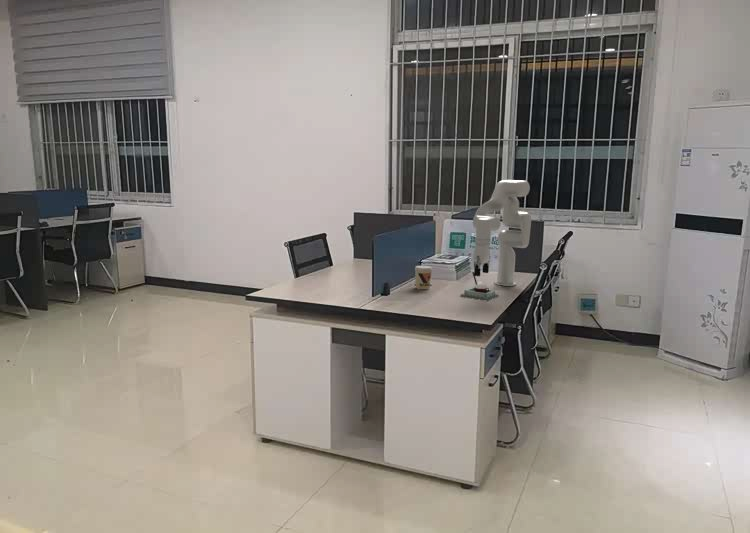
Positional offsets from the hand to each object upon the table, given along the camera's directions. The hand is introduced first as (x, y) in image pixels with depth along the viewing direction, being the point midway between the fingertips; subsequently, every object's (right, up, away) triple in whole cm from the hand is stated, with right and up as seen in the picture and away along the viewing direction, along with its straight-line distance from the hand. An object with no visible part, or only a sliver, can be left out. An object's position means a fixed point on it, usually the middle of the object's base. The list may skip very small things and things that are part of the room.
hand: (481, 274), depth 302 cm
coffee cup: (-29, -8, +18) cm, 35 cm away
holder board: (-1, -12, +1) cm, 12 cm away
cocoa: (-1, -11, +1) cm, 11 cm away
